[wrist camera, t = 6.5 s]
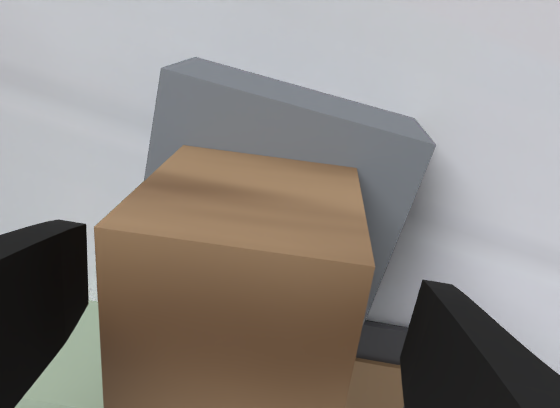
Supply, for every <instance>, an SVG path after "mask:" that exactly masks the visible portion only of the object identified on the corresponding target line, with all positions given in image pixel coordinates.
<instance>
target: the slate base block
mask: <svg viewBox="0 0 560 408" xmlns="http://www.w3.org/2000/svg"><path fill="white" fill-rule="evenodd" d="M183 145H186V146H194V147H201V148H209V149H217V150H224V151H232V152H239V153H247V154H255V155H262V156H270V157H277V158H285V159H293V160H300V161H308V162H315V163H323V164H331V165H338V166H346V167H353V168H357V172H358V178H359V183H360V188H361V194H362V199H363V204H364V210H365V215H366V220H367V226H368V231H369V236H370V242H371V247H372V252H373V258H374V263H375V270H374V275H373V279H372V284H371V289H370V293H369V298H368V303H367V307H366V312H365V317H364V321H363V324H364V322H365V320H366V317H367V315H368V312H369V310H370V307H371V305H372V302H373V300H374V297H375V295H376V292H377V290H378V287H379V285H380V282H381V280H382V278H383V275H384V273H385V270H386V268H387V265H388V263H389V260H390V258H391V255H392V253H393V250H394V248H395V245H396V243H397V241H398V238H399V236H400V233H401V231H402V228H403V226H404V223H405V221H406V218H407V216H408V213H409V211H410V208H411V206H412V203H413V201H414V199H415V196H416V194H417V191H418V189H419V186H420V184H421V181H422V179H423V176H424V174H425V171H426V169H427V166H428V164H429V162H430V159H431V157H432V154H433V152H434V149H435V147H436V144H435V143H434V142H433V140H432V139H431V138H430V137H429V135H428V134H427V133H426V132H425V131H424V129H423V128H422V127H421V126H420V124H419V123H418V122H417V121H416V120H415V118H412V117H408V116H405V115H401V114H397V113H394V112H390V111H387V110H383V109H380V108H376V107H372V106H369V105H365V104H362V103H358V102H355V101H351V100H347V99H344V98H340V97H337V96H333V95H330V94H326V93H322V92H319V91H315V90H312V89H308V88H305V87H301V86H297V85H294V84H290V83H287V82H283V81H280V80H276V79H272V78H269V77H265V76H262V75H258V74H255V73H251V72H247V71H244V70H240V69H237V68H233V67H230V66H226V65H222V64H219V63H215V62H212V61H208V60H205V59H201V58H197V57H194V58H191V59H188V60H184V61H181V62H178V63H175V64H172V65H169V66H166V67H162V68H161V71H160V78H159V85H158V91H157V98H156V105H155V111H154V118H153V124H152V131H151V138H150V144H149V151H148V158H147V164H146V171H145V177H144V181H145V180H146V179H147V178H148V177H149V176H150V175H151V174H152V173H153V172H154V171H156V170H157V169H158V168H159V167H160V166H161V165H162V164H163V163H164V162H165V161H166V160H167V159H169V158H170V157H171V156H172V155H173V154H174V153H175V152H176V151H177V150H178V149H179V148H181V147H182V146H183ZM362 327H363V326H362Z"/></svg>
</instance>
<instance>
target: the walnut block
mask: <svg viewBox="0 0 560 408" xmlns="http://www.w3.org/2000/svg"><path fill="white" fill-rule="evenodd" d="M94 236H95V255H96V274H97V293H98V312H99V331H100V349H101V368H102V387H103V406H104V408H345V405H346V400H347V396H348V391H349V386H350V382H351V377H352V372H353V368H354V363H355V358H356V354H357V349H358V344H359V340H360V335H361V330H362V326H363V321H364V317H365V312H366V307H367V303H368V298H369V293H370V289H371V284H372V279H373V275H374V270H375V263H374V258H373V252H372V247H371V242H370V236H369V231H368V226H367V220H366V215H365V210H364V204H363V199H362V194H361V188H360V183H359V178H358V172H357V168H353V167H346V166H338V165H331V164H323V163H315V162H308V161H300V160H293V159H285V158H277V157H270V156H262V155H255V154H247V153H239V152H232V151H224V150H217V149H209V148H201V147H194V146H186V145H183V146H182V147H181V148H179V149H178V150H177V151H176V152H175V153H174V154H173V155H172V156H171V157H170V158H169V159H167V160H166V161H165V162H164V163H163V164H162V165H161V166H160V167H159V168H158V169H157V170H156V171H154V172H153V173H152V174H151V175H150V176H149V177H148V178H147V179H146V180H145V181H144V182H142V183H141V184H140V185H139V186H138V187H137V188H136V189H135V190H134V191H133V192H132V193H131V194H129V195H128V196H127V197H126V198H125V199H124V200H123V201H122V202H121V203H120V204H119V205H117V206H116V207H115V208H114V209H113V210H112V211H111V212H110V213H109V214H108V215H107V216H106V217H104V218H103V219H102V220H101V221H100V222H99V223H98V224H97V225H96V226H95V227H94Z"/></svg>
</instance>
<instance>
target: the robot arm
mask: <svg viewBox="0 0 560 408" xmlns="http://www.w3.org/2000/svg"><path fill="white" fill-rule="evenodd" d="M88 304H89V302H88V269H87V236H86V224H82V223H76V222H70V221H64V220H54V221H48V222H44V223H40V224H36V225H32V226H29V227H25V228H22V229H19V230H15V231H12V232H9V233H5V234H2V235H0V408H15V406H16V405H17V404H18V403H19V401H20V400H21V399H22V398H23V396H24V395H25V394H26V393H27V392H28V390H29V389H30V388H31V387H32V385H33V384H34V383H35V382H36V380H37V379H38V378H39V377H40V375H41V374H42V373H43V372H44V370H45V369H46V368H47V366H48V365H49V364H50V363H51V361H52V360H53V359H54V358H55V356H56V355H57V354H58V352H59V351H60V350H61V349H62V347H63V346H64V345H65V343H66V342H67V340H68V339H69V337H70V335H71V334H72V332H73V330H74V329H75V327H76V326H77V324H78V322H79V320H80V318H81V317H82V315H83V313H84V311H85V310H86V308H87V306H88ZM400 367H401V380H402V390H403V400H404V406H405V408H560V375H559V374H558V373H556V372H555V371H554V370H552V369H551V368H550V367H549V366H547V365H546V364H545V363H544V362H542V361H541V360H540V359H539V358H538V357H536V356H535V355H534V354H533V353H532V352H530V351H529V350H528V349H527V348H526V347H525V346H523V345H522V344H521V343H520V342H519V341H517V340H516V339H515V338H514V337H513V336H512V335H511V334H509V333H508V332H507V331H506V330H505V329H504V328H503V327H502V326H500V325H499V324H498V323H497V322H496V321H495V320H494V319H492V318H491V317H490V316H489V315H488V314H487V313H486V312H485V311H484V310H482V309H481V308H480V307H479V306H478V305H477V304H476V303H474V302H473V301H472V300H471V299H470V298H469V297H468V296H466V295H465V294H464V293H463V292H461V291H460V290H459V289H458V288H456V287H455V286H453V285H452V284H446V283H440V282H434V281H427V280H422V283H421V287H420V290H419V294H418V297H417V301H416V304H415V307H414V311H413V314H412V318H411V321H410V325H409V328H408V332H407V335H406V338H405V342H404V345H403V349H402V352H401V356H400Z"/></svg>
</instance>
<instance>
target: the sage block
mask: <svg viewBox="0 0 560 408" xmlns="http://www.w3.org/2000/svg"><path fill="white" fill-rule="evenodd" d="M88 302H89V304H88V306H87V308H86V310H85V311H84V313H83V315H82V317H81V318H80V320H79V322H78V324H77V326H76V327H75V329H74V330H73V332H72V334H71V335H70V337H69V339H68V340H67V342H66V343H65V345H64V346H63V347H62V349H61V350H60V351H59V352H58V354H57V355H56V356H55V358H54V359H53V360H52V361H51V363H50V364H49V365H48V366H47V368H46V369H45V370H44V372H43V373H42V374H41V375H40V377H39V378H38V379H37V380H36V382H35V383H34V384H33V385H32V387H31V388H30V389H29V390H28V392H27V393H26V394H25V395H24V396H23V398H22V399H21V400H20V401H19V403H18V404H17V405H16V406H15V408H104V406H103V387H102V368H101V349H100V331H99V312H98V302H96V301H90V300H88Z"/></svg>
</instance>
